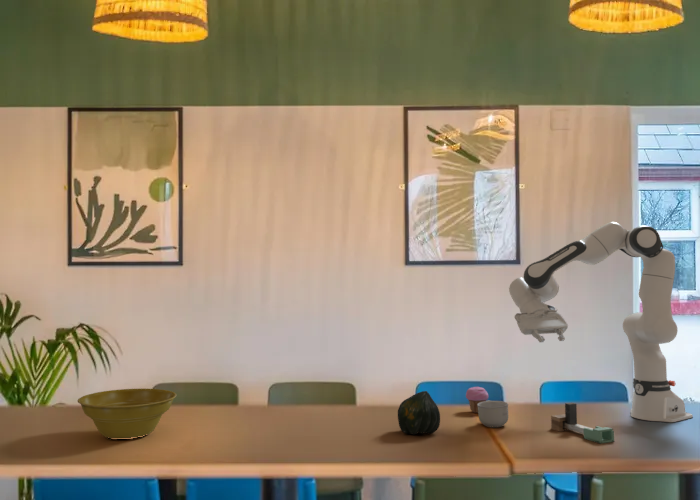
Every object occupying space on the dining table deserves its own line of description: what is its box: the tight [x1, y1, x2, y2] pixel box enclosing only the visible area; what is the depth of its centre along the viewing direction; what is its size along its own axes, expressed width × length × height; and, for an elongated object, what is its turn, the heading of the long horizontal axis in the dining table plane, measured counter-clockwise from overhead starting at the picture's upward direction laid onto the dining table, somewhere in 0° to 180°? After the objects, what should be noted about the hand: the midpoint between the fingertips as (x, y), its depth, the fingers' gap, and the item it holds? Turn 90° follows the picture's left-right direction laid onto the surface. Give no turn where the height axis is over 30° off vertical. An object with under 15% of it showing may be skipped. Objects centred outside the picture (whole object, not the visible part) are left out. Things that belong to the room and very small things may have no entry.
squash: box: [397, 390, 441, 436], centre depth 219 cm, size 14×15×15 cm
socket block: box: [550, 413, 570, 432], centre depth 222 cm, size 7×4×4 cm, turn 113°
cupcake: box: [465, 386, 489, 414], centre depth 251 cm, size 9×9×10 cm
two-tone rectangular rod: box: [563, 402, 594, 435], centre depth 216 cm, size 3×15×9 cm, turn 23°
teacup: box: [477, 399, 509, 428], centre depth 230 cm, size 14×11×8 cm
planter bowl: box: [77, 388, 177, 438], centre depth 219 cm, size 32×32×13 cm
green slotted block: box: [583, 425, 615, 444], centre depth 207 cm, size 6×7×4 cm
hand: (552, 340), depth 236 cm, fingers open, 8 cm apart
